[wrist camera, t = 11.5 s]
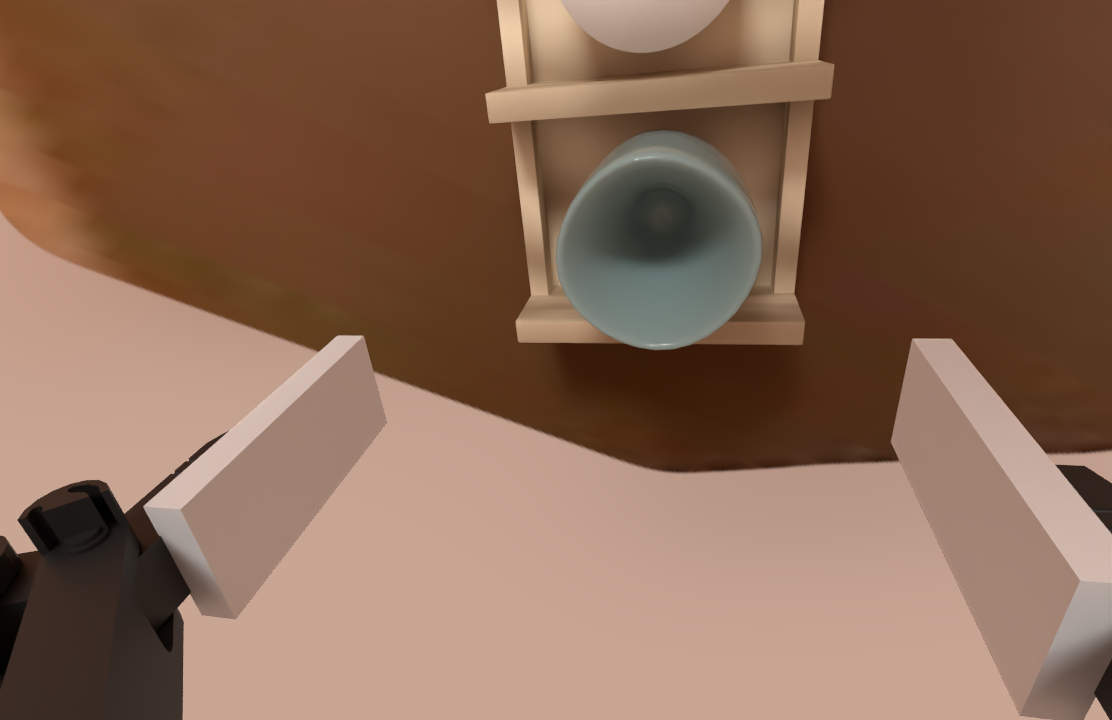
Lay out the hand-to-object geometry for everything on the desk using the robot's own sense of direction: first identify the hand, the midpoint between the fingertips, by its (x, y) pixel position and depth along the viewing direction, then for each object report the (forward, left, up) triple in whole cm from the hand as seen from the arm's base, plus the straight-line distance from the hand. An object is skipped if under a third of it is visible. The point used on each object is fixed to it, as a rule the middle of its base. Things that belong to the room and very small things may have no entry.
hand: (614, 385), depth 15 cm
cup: (0, 0, -20) cm, 20 cm away
